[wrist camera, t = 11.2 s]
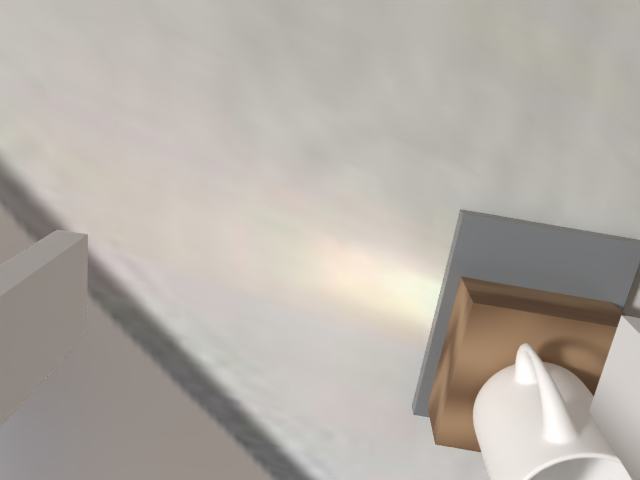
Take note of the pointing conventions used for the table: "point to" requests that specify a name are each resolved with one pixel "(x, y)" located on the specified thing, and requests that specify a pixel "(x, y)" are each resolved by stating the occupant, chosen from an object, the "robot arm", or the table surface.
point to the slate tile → (527, 271)
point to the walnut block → (512, 346)
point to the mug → (541, 425)
